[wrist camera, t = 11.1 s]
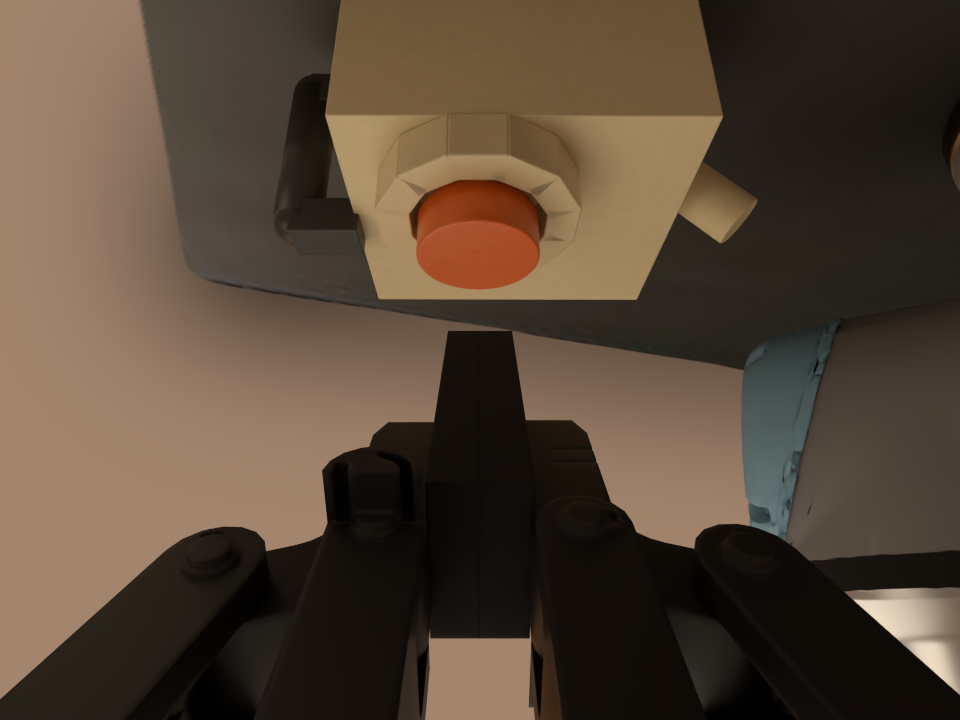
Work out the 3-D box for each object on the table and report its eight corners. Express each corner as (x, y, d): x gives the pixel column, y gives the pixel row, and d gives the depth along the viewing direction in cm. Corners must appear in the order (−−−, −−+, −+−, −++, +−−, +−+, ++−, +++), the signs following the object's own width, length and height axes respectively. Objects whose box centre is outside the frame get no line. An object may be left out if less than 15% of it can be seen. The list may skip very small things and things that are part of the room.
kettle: (683, -82, 24) (735, 156, 19) (618, 144, 35) (640, 332, 30) (351, -84, 24) (317, 154, 19) (390, 143, 35) (376, 331, 30)
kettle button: (543, 178, 21) (546, 220, 20) (533, 252, 25) (534, 290, 24) (412, 177, 21) (410, 220, 20) (423, 252, 25) (421, 290, 24)
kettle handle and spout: (781, -94, 24) (852, 121, 19) (678, 152, 36) (707, 319, 31) (257, -97, 24) (204, 119, 19) (331, 151, 36) (310, 318, 31)
